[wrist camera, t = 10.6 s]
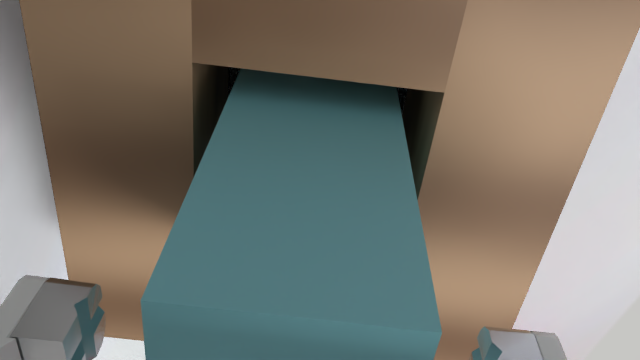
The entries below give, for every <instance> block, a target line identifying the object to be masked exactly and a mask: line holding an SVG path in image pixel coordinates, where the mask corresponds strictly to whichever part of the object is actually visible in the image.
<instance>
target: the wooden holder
mask: <svg viewBox="0 0 640 360" xmlns="http://www.w3.org/2000/svg"><path fill="white" fill-rule="evenodd" d="M19 2H20V8H21V13H22V19H23V25H24V30H25V36H26V42H27V47H28V53H29V59H30V64H31V70H32V76H33V81H34V87H35V92H36V98H37V104H38V109H39V115H40V121H41V126H42V132H43V138H44V143H45V149H46V155H47V160H48V166H49V171H50V177H51V183H52V188H53V194H54V200H55V205H56V211H57V217H58V222H59V228H60V234H61V239H62V245H63V251H64V256H65V262H66V267H67V273H68V279H69V280H71V281H79V282H86V283H93V284H98V285H100V286H101V291H102V299H101V301H100V303H99V305H98V306H99V307H100V308H101V309H102V310H103V311H104V312H105V318H106V326H105V334H104V337H113V338H123V339H132V340H141V341H144V334H143V323H142V312H141V298H142V296H143V294H144V291H145V289H146V287H147V284H148V282H149V280H150V277H151V275H152V273H153V271H154V268H155V266H156V264H157V261H158V259H159V257H160V254H161V252H162V250H163V247H164V245H165V243H166V240H167V238H168V236H169V233H170V231H171V229H172V227H173V224H174V222H175V220H176V217H177V215H178V213H179V210H180V208H181V206H182V203H183V201H184V199H185V196H186V194H187V192H188V190H189V187H190V185H191V183H192V180H193V178H194V176H195V173H196V171H197V169H198V166H199V164H200V162H201V159H202V157H203V155H204V152H205V150H206V148H207V146H208V143H209V141H210V139H211V136H212V134H213V132H214V129H215V127H216V125H217V122H218V120H219V118H220V115H221V113H222V111H223V108H224V106H225V104H226V102H227V99H228V82H229V67H234V68H242V69H250V70H259V71H267V72H276V73H284V74H292V75H301V76H309V77H317V78H326V79H334V80H342V81H351V82H359V83H367V84H376V85H384V86H392V87H401V88H408V89H407V94H406V98H405V103H404V108H403V113H402V119H403V125H404V130H405V135H406V141H407V146H408V152H409V157H410V162H411V168H412V173H413V179H414V184H415V189H416V195H417V200H418V206H419V211H420V216H421V222H422V227H423V233H424V238H425V243H426V249H427V254H428V260H429V265H430V270H431V276H432V281H433V287H434V292H435V297H436V303H437V308H438V314H439V319H440V324H441V330H442V335H441V338H440V341H439V344H438V347H437V350H436V353H435V356H434V359H433V360H469V358H470V355H471V352H472V351H474V350H476V349H477V348H479V344H478V340H477V337H478V335H479V332H480V330H481V329H482V328H483V327H484V326H487V327H497V328H507V329H512V327H513V325H514V322H515V320H516V318H517V315H518V313H519V311H520V308H521V306H522V304H523V301H524V299H525V297H526V294H527V292H528V289H529V287H530V285H531V282H532V280H533V278H534V275H535V273H536V271H537V268H538V266H539V264H540V261H541V259H542V256H543V254H544V252H545V249H546V247H547V245H548V242H549V240H550V238H551V235H552V233H553V231H554V228H555V226H556V223H557V221H558V219H559V216H560V214H561V212H562V209H563V207H564V205H565V202H566V200H567V198H568V195H569V193H570V191H571V188H572V186H573V183H574V181H575V179H576V176H577V174H578V172H579V169H580V167H581V165H582V162H583V160H584V158H585V155H586V153H587V150H588V148H589V146H590V143H591V141H592V139H593V136H594V134H595V132H596V129H597V127H598V125H599V122H600V120H601V118H602V115H603V113H604V110H605V108H606V106H607V103H608V101H609V99H610V96H611V94H612V92H613V89H614V87H615V85H616V82H617V80H618V77H619V75H620V73H621V70H622V68H623V66H624V63H625V61H626V59H627V56H628V54H629V52H630V49H631V47H632V44H633V42H634V40H635V37H636V35H637V33H638V30H639V28H640V0H19Z"/></svg>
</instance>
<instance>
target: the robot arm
mask: <svg viewBox="0 0 640 360" xmlns="http://www.w3.org/2000/svg"><path fill="white" fill-rule="evenodd" d="M101 299H102V291H101V286H100V285H98V284H93V283H86V282H79V281H71V280H64V279H57V278H46V277H39V276H31V275H25V276H24V277H22V278H21V279H19V280H18V282H17V283H16V285H15V286H14V287H13V289H12V290H11V292H10V293H9V295H8V296H7V297H6V299H5V300H4V302H3V303H2V304H1V306H0V360H92V359H93V358H95V357H96V356H97V354H98V352H99V350H100V348H101V345H102V342H103V338H104V334H105V326H106V318H105V312H104V311H103V310H102V309H101V308H100V307H99V306H98V305H99V303H100V301H101ZM477 340H478V344H479V348H477V349H476V350H474V351H472V352H471V355H470V358H469V360H567V358H566V356H565V353H564V351H563V348H562V346H561V343H560V341H559V338H558V337H557V336H556V335H555V334H554V333H545V332H536V331H527V330H517V329H507V328H497V327H487V326H484V327H483V328H482V329H481V330H480V332H479V335H478V337H477Z"/></svg>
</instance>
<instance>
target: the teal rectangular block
mask: <svg viewBox="0 0 640 360" xmlns="http://www.w3.org/2000/svg"><path fill="white" fill-rule="evenodd" d="M141 312H142V323H143V334H144V345H145V356H146V360H433V359H434V356H435V353H436V350H437V347H438V344H439V341H440V338H441V335H442V330H441V324H440V319H439V314H438V308H437V303H436V297H435V292H434V287H433V281H432V276H431V270H430V265H429V260H428V254H427V249H426V243H425V238H424V233H423V227H422V222H421V216H420V211H419V206H418V200H417V195H416V189H415V184H414V179H413V173H412V168H411V162H410V157H409V152H408V146H407V141H406V135H405V130H404V125H403V119H402V114H401V108H400V103H399V98H398V92H397V87H392V86H384V85H376V84H367V83H359V82H351V81H342V80H334V79H326V78H317V77H309V76H301V75H292V74H284V73H276V72H267V71H259V70H250V69H242V68H241V69H240V71H239V74H238V76H237V78H236V81H235V83H234V85H233V88H232V90H231V92H230V95H229V97H228V99H227V102H226V104H225V106H224V108H223V111H222V113H221V115H220V118H219V120H218V122H217V125H216V127H215V129H214V132H213V134H212V136H211V139H210V141H209V143H208V146H207V148H206V150H205V152H204V155H203V157H202V159H201V162H200V164H199V166H198V169H197V171H196V173H195V176H194V178H193V180H192V183H191V185H190V187H189V190H188V192H187V194H186V196H185V199H184V201H183V203H182V206H181V208H180V210H179V213H178V215H177V217H176V220H175V222H174V224H173V227H172V229H171V231H170V233H169V236H168V238H167V240H166V243H165V245H164V247H163V250H162V252H161V254H160V257H159V259H158V261H157V264H156V266H155V268H154V271H153V273H152V275H151V277H150V280H149V282H148V284H147V287H146V289H145V291H144V294H143V296H142V298H141Z"/></svg>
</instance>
